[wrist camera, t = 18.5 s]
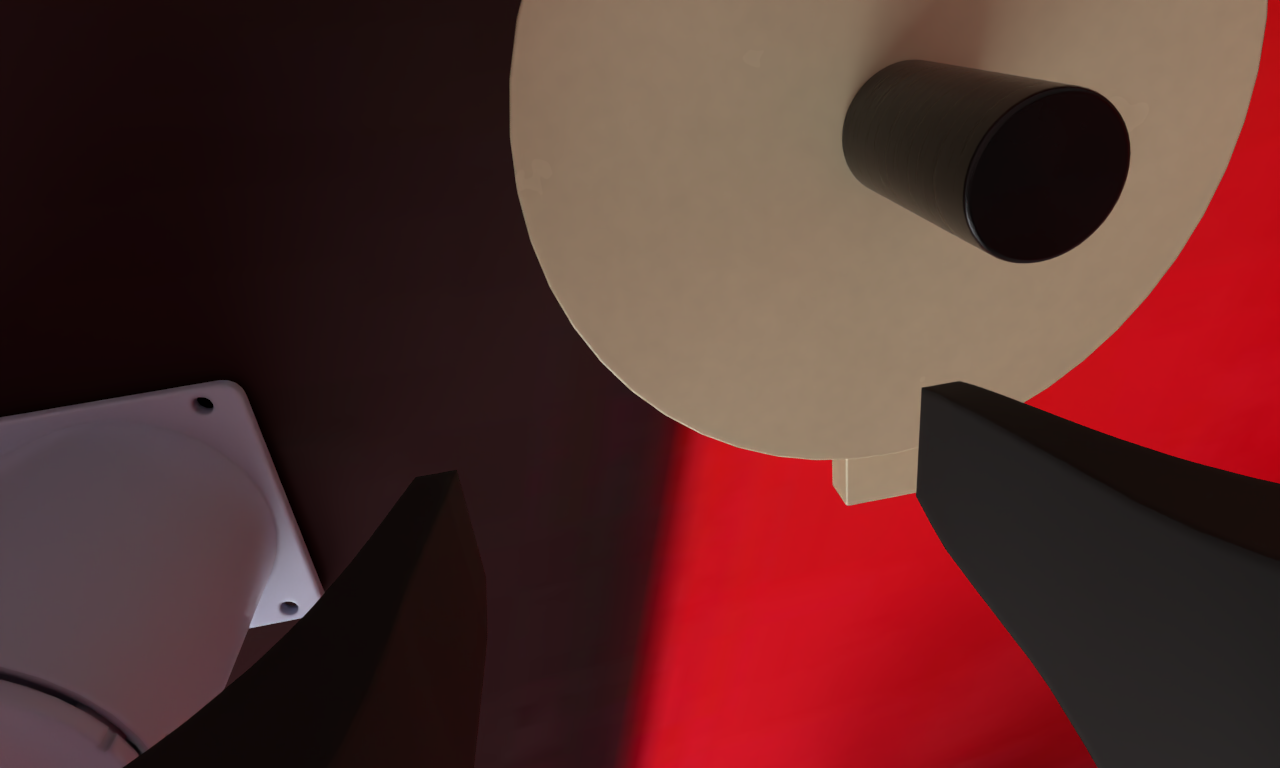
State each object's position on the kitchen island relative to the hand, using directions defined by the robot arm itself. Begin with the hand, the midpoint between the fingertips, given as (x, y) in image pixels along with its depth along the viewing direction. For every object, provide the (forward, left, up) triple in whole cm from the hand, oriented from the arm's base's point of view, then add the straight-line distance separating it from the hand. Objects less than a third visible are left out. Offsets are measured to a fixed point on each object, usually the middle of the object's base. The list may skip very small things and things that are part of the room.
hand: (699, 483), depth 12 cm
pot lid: (+5, +4, -5) cm, 8 cm away
